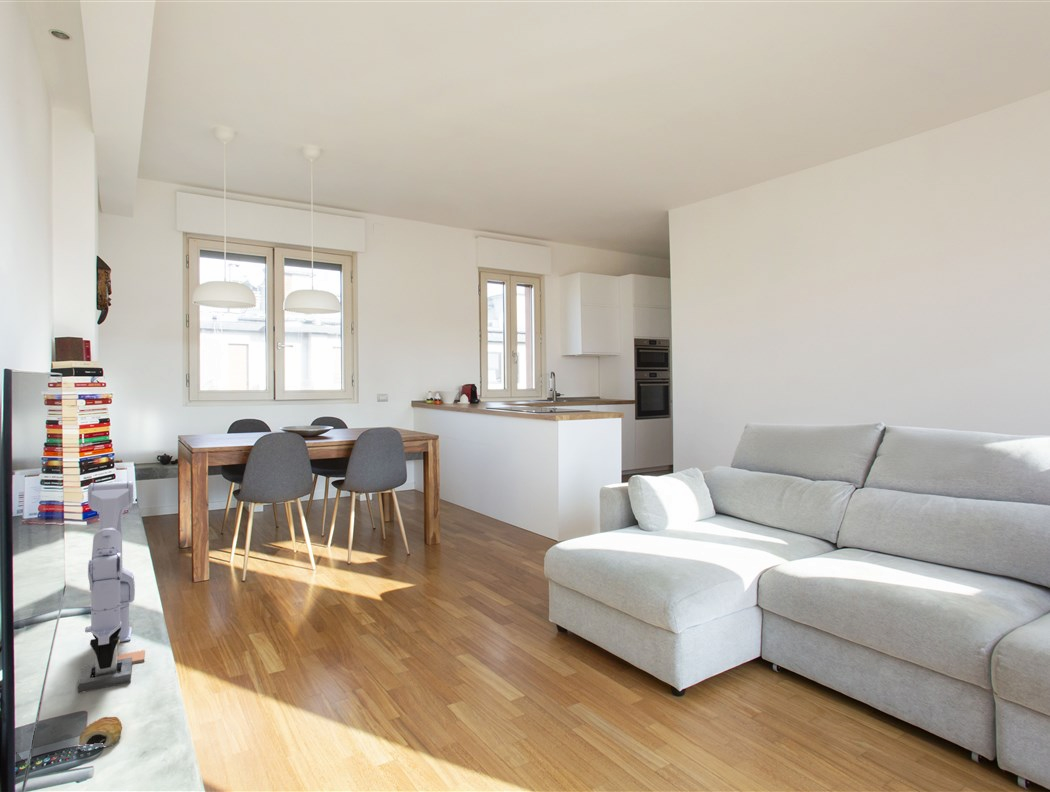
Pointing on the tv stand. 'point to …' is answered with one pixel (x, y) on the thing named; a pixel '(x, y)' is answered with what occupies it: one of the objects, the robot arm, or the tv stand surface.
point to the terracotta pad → (133, 656)
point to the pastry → (102, 732)
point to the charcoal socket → (105, 676)
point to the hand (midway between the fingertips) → (106, 663)
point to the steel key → (107, 670)
